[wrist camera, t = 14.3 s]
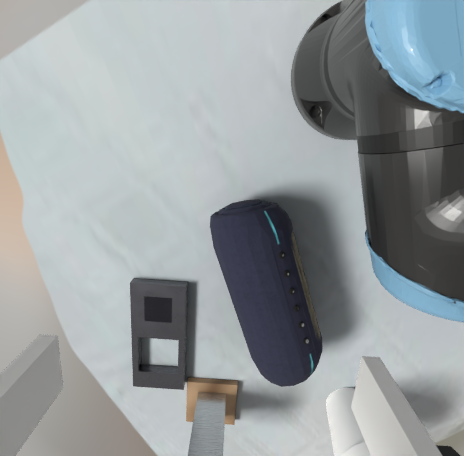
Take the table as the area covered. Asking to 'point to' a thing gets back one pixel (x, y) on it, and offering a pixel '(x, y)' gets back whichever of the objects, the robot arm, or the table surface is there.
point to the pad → (216, 387)
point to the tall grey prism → (208, 425)
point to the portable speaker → (268, 289)
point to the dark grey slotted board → (158, 329)
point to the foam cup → (344, 424)
